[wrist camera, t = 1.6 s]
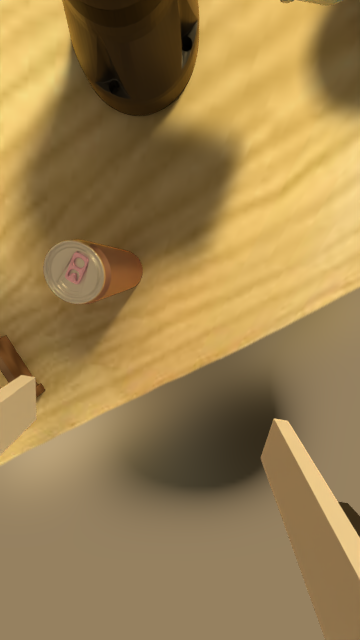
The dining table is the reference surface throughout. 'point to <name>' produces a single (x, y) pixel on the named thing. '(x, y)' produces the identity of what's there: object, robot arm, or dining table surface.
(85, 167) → the dining table surface
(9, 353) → the corner fence
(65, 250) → the beverage can
